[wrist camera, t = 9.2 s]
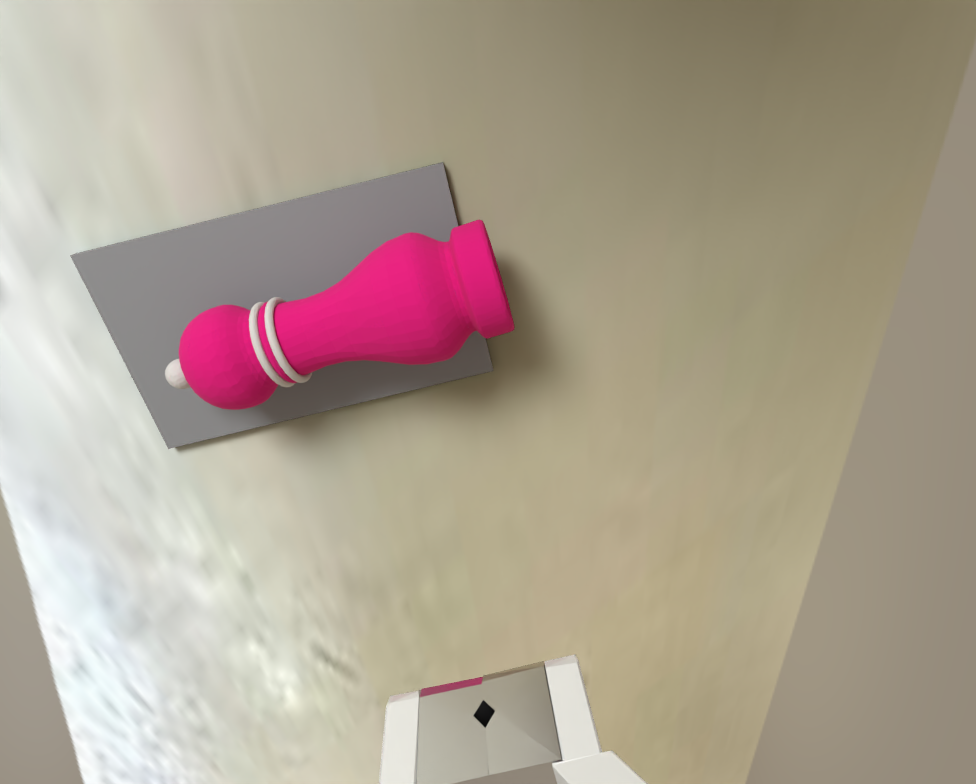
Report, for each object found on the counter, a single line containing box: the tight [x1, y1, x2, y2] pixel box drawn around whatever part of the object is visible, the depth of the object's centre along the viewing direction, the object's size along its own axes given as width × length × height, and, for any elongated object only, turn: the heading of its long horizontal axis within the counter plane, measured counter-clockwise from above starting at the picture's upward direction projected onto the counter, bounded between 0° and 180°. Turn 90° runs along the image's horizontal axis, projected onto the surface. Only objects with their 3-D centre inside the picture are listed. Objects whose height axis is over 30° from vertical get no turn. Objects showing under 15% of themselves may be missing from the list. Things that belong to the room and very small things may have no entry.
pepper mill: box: [165, 220, 514, 410], centre depth 34 cm, size 7×7×20 cm
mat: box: [70, 162, 493, 449], centre depth 37 cm, size 22×13×1 cm, turn 103°
